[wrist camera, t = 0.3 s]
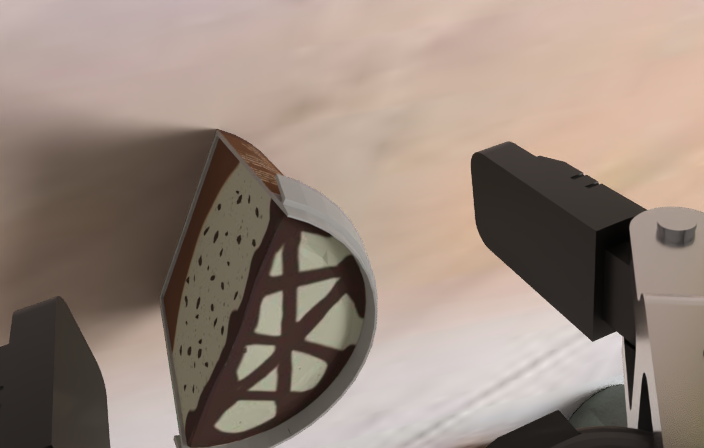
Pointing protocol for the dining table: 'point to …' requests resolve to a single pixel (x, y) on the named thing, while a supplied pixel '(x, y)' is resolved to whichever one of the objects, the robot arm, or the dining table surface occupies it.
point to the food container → (262, 304)
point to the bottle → (602, 409)
